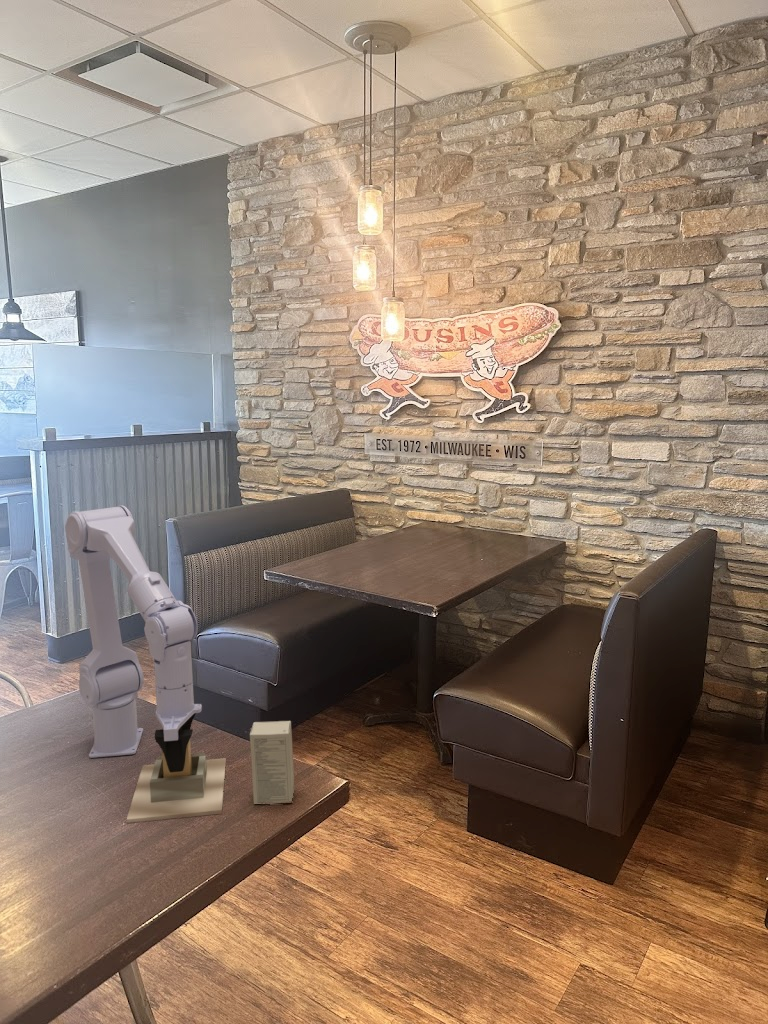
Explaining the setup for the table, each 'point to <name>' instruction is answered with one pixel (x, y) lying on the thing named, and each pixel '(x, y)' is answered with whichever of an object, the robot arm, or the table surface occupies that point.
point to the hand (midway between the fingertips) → (178, 761)
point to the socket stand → (179, 791)
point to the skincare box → (272, 762)
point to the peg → (187, 767)
